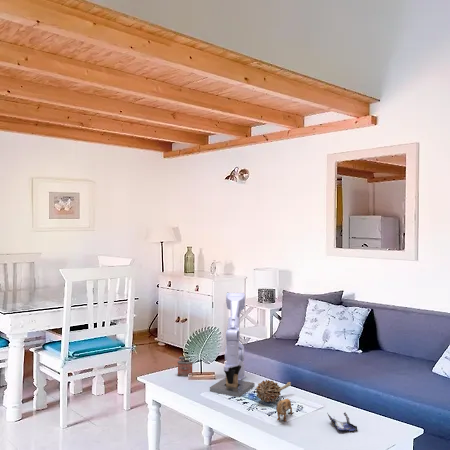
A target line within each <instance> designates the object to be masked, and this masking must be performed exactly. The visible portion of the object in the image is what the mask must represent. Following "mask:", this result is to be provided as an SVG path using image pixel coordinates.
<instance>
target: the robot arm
mask: <svg viewBox="0 0 450 450" xmlns="http://www.w3.org/2000/svg"><path fill="white" fill-rule="evenodd" d="M225 303H226V308H227V310H229V311H230V316H229V317H228V319H227V326H226V327H227V328H226V329H227V330H225V344H226V345H225V349H224V360H225V362H224V366H223V372H224V374H225V377H226V376H227V380H228V383H229V384H232V383H233V377H234V374H237V375H238V380H241V381H243V379H245V378H246V377H247V376H246V375H245V362H244V361H245V346H244V344H242V343H241V342H240V338H241V337H240V336H241V331H240V322H241V321H240V317H241V312H242V311H243V310H245V308H246V306H245V305H246V294H245V292H227V293H226V294H225Z"/></svg>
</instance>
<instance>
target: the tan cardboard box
mask: <svg viewBox="0 0 450 450" xmlns="http://www.w3.org/2000/svg"><path fill="white" fill-rule="evenodd" d="M225 378H226V386H230V387H235V388H237V387H238V375H237V374H234V377H233V383H232V384H229V383H228V380H227V376H226V375H225Z"/></svg>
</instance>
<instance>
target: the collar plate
mask: <svg viewBox="0 0 450 450" xmlns="http://www.w3.org/2000/svg"><path fill="white" fill-rule="evenodd" d="M253 387H254V388H255V382H253V381H246V380H238V387H237V388H235V387H230V386H226V377H224V378H222V379H221V380H219V381H218V382H215V384H213V385H211V386H209V392H211V393H216V394H222V395H226V396H227V395H228V396H232V397H237V398H241V397H242V396H244V395H245V394H246V392H247V393H248V392H250V391H251V390H252V389H254V388H253ZM250 389H251V390H250Z"/></svg>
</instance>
